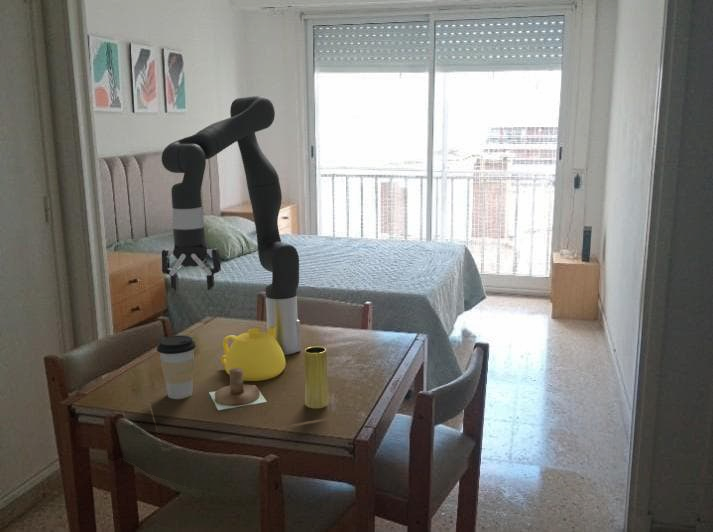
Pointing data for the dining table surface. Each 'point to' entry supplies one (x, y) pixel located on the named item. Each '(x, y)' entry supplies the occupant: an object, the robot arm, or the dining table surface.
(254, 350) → the teapot
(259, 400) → the mat
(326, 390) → the vase
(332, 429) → the dining table surface
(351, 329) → the dining table surface
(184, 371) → the coffee cup
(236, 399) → the lid
